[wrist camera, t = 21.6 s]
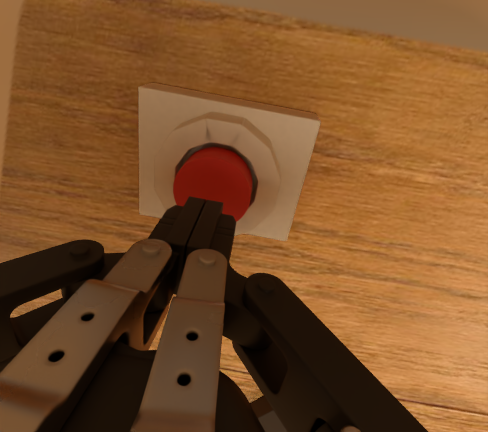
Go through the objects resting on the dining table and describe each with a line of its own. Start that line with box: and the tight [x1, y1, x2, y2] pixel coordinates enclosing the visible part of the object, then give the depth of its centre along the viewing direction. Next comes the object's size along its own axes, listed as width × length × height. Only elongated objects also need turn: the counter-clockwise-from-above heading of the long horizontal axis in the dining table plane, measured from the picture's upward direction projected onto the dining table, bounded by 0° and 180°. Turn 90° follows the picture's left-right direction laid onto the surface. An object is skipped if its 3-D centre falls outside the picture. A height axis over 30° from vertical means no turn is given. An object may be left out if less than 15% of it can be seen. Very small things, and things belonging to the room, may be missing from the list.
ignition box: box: [138, 83, 321, 241], centre depth 18 cm, size 10×8×4 cm
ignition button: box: [173, 147, 252, 222], centre depth 16 cm, size 4×4×2 cm
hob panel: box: [250, 396, 287, 432], centre depth 33 cm, size 14×10×2 cm
